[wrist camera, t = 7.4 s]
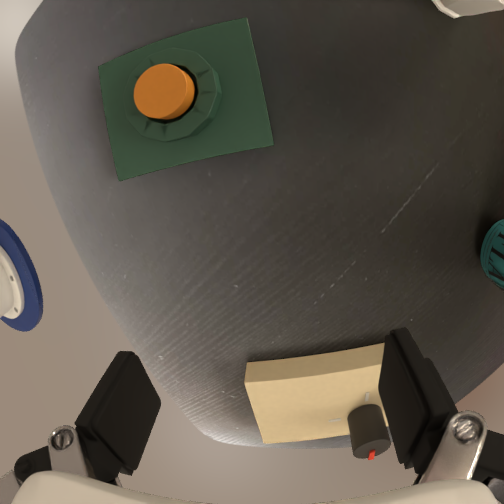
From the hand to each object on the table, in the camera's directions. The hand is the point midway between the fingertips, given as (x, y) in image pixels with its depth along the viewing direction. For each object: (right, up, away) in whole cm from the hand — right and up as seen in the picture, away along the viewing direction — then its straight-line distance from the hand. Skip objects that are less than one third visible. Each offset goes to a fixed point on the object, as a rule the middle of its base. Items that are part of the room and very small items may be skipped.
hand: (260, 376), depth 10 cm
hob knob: (+12, -14, +17) cm, 25 cm away
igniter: (-5, +16, +10) cm, 20 cm away
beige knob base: (+8, -11, +20) cm, 24 cm away
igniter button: (-6, +15, +7) cm, 17 cm away
